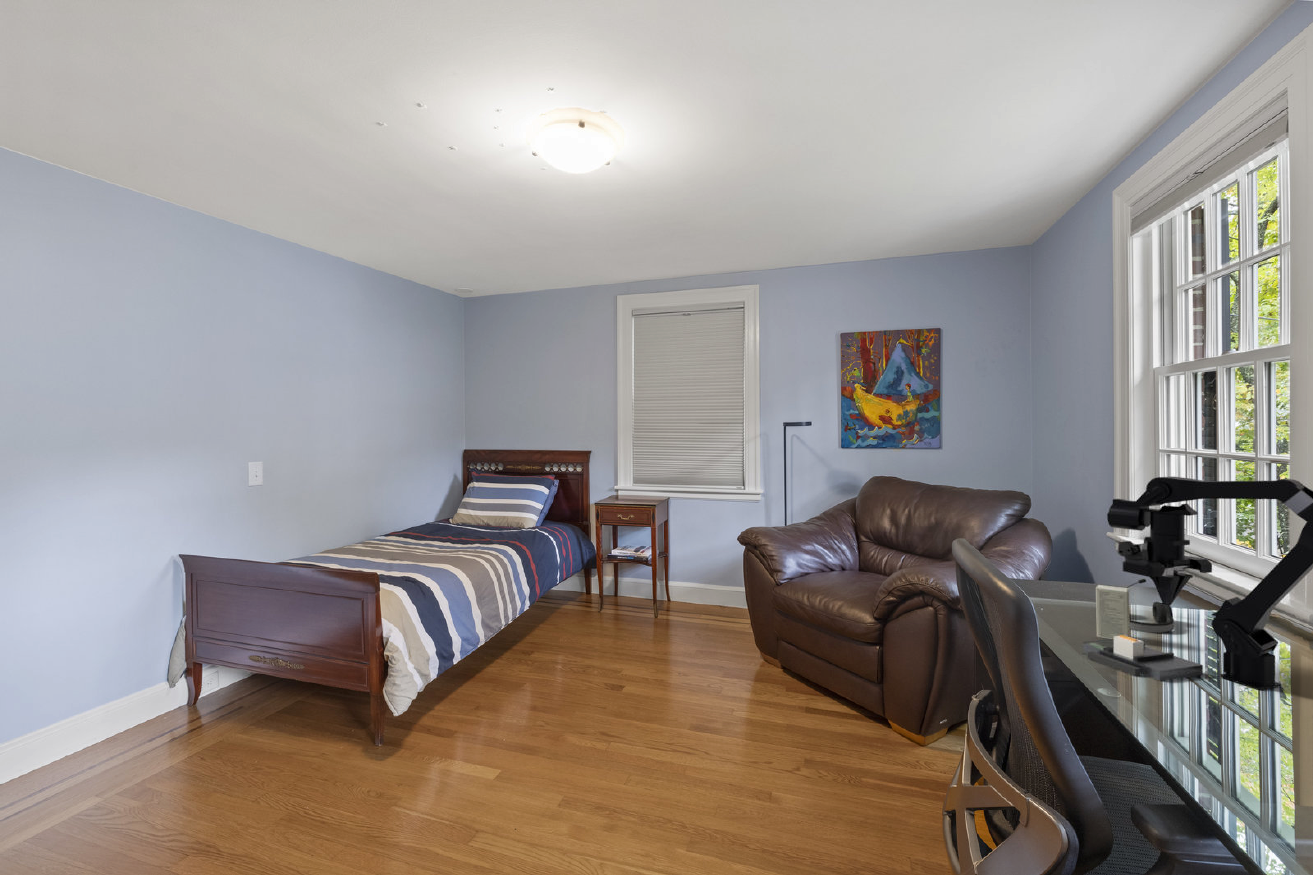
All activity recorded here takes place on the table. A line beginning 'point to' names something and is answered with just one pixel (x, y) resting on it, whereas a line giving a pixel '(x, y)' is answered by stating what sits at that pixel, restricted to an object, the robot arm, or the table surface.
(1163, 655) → the panel
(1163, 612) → the headset
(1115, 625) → the skincare box
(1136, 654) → the breaker lever
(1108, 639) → the dark grey bar far
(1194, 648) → the table surface
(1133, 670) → the dark grey bar
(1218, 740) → the table surface
